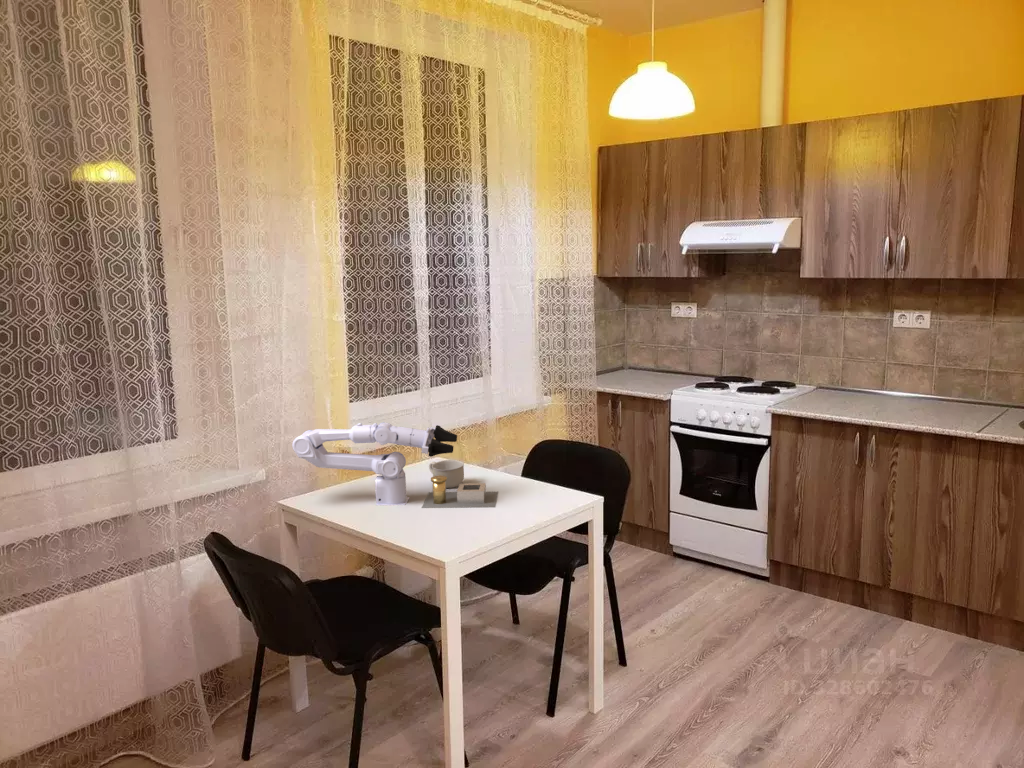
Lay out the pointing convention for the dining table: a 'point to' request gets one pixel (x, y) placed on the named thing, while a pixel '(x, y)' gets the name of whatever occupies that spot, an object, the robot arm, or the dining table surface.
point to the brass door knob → (439, 489)
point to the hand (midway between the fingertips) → (455, 443)
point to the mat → (452, 503)
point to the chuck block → (471, 493)
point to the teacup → (449, 471)
